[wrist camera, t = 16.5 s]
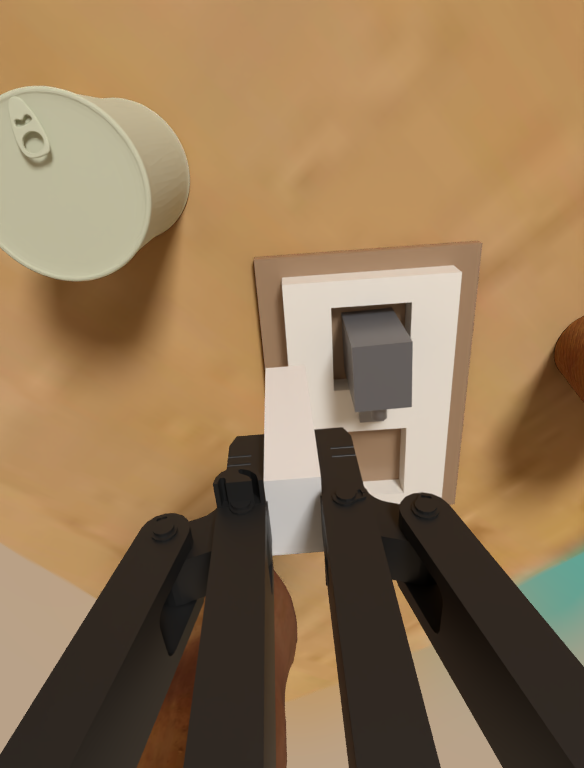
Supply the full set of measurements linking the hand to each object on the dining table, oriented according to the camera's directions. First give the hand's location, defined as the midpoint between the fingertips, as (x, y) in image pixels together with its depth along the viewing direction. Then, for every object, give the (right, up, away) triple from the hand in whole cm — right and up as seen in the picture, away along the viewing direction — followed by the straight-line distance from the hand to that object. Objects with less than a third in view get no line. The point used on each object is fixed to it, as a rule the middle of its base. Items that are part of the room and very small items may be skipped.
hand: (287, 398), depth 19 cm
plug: (+6, +4, +21) cm, 22 cm away
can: (-12, +15, +16) cm, 25 cm away
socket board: (+7, 0, +24) cm, 25 cm away
